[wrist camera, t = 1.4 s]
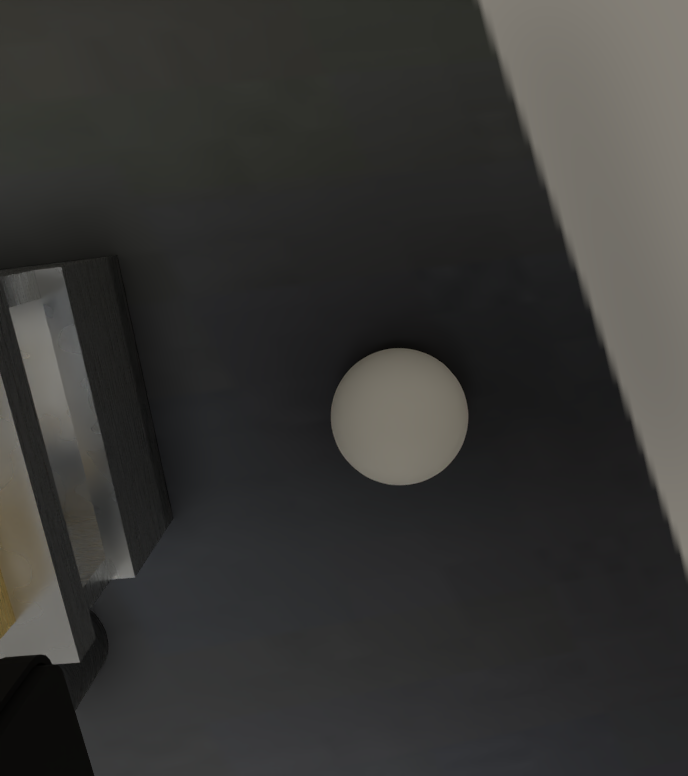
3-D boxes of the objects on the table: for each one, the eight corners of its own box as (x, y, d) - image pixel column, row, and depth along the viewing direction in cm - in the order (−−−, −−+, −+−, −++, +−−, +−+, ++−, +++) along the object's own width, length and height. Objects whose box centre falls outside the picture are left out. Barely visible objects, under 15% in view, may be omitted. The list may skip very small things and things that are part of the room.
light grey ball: (455, 328, 22) (473, 359, 18) (463, 448, 23) (482, 503, 19) (327, 342, 22) (316, 375, 18) (343, 459, 24) (335, 515, 19)
